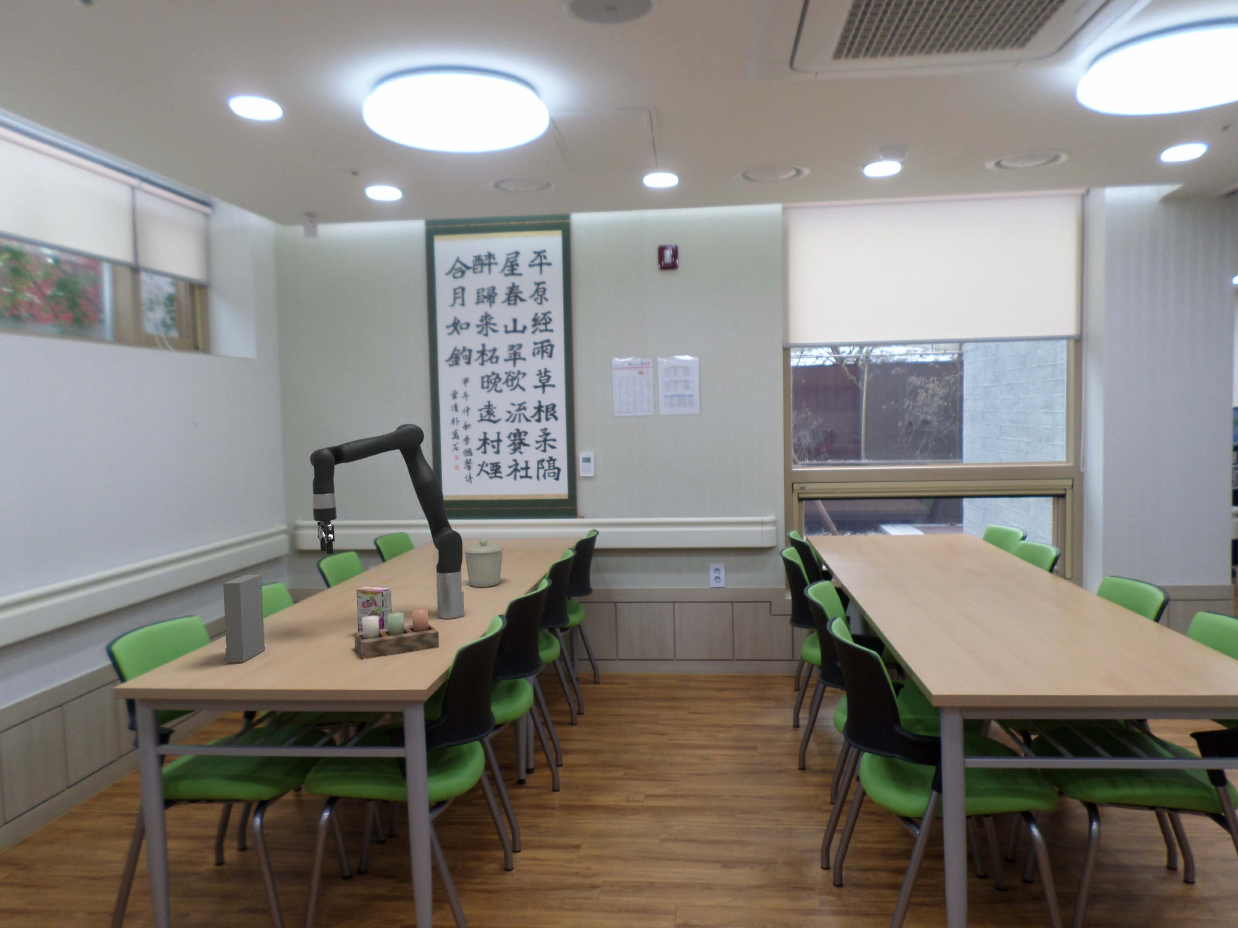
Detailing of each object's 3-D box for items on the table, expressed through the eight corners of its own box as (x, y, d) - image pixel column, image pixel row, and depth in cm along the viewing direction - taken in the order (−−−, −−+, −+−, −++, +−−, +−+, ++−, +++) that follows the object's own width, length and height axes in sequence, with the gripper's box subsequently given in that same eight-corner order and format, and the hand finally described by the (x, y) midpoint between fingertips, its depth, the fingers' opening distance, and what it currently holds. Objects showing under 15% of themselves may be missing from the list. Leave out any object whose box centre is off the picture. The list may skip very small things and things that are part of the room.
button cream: (377, 636, 253) (376, 614, 252) (380, 640, 248) (379, 617, 248) (361, 638, 250) (360, 616, 250) (364, 642, 246) (363, 620, 245)
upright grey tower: (246, 650, 253) (243, 574, 252) (265, 650, 253) (261, 574, 252) (224, 663, 240) (220, 583, 238) (243, 663, 239) (239, 583, 238)
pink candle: (426, 629, 260) (425, 608, 260) (430, 632, 256) (429, 611, 255) (411, 631, 258) (410, 610, 257) (415, 635, 253) (414, 613, 253)
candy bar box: (357, 635, 269) (355, 588, 268) (366, 632, 274) (364, 586, 273) (384, 637, 265) (382, 590, 264) (393, 634, 270) (391, 587, 269)
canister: (458, 589, 344) (456, 542, 343) (472, 580, 362) (471, 536, 361) (497, 589, 341) (496, 542, 340) (509, 581, 359) (508, 536, 358)
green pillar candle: (402, 633, 256) (401, 611, 256) (405, 636, 252) (405, 614, 252) (387, 635, 254) (386, 613, 254) (390, 638, 250) (389, 616, 249)
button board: (427, 637, 265) (427, 622, 265) (438, 646, 253) (438, 631, 252) (354, 647, 254) (354, 632, 253) (362, 658, 241) (362, 642, 241)
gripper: (340, 507, 266) (343, 553, 267) (330, 504, 278) (333, 548, 279) (317, 508, 262) (320, 556, 263) (308, 505, 274) (311, 551, 275)
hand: (326, 552), depth 271 cm, fingers open, 8 cm apart
